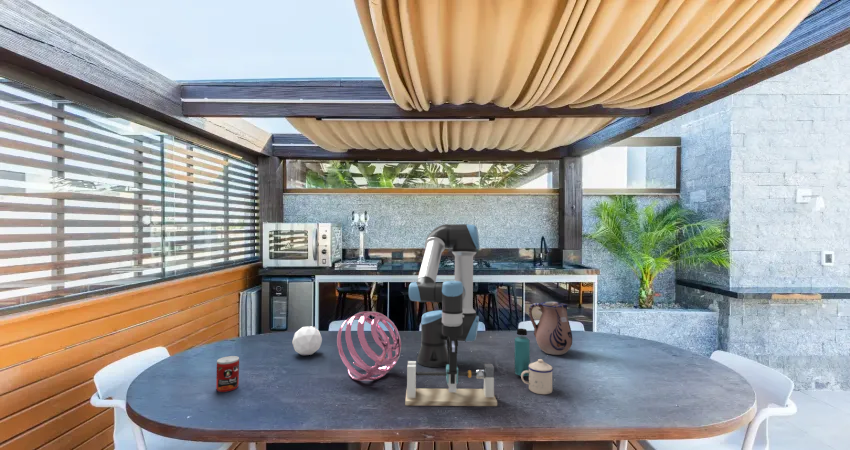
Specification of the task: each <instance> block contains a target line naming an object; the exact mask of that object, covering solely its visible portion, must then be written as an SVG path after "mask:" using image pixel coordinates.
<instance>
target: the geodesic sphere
mask: <svg viewBox="0 0 850 450" xmlns="http://www.w3.org/2000/svg"><path fill="white" fill-rule="evenodd" d="M322 341H323V338H322V334H321V333H320V330H318V328H317V326H311V325H308V326H302V327H301V328H299V329H298V330H297V331H296V332H294V334H293V338H292V342H291V343H292V346H293V349H294V352H296V353H298V354H299V355H301V356H309V355H310V356H311V355H314V353H316V352H317V351H318V350H319V349H320V348H321V345H322Z"/></svg>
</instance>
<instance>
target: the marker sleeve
mask: <svg viewBox="0 0 850 450" xmlns="http://www.w3.org/2000/svg"><path fill="white" fill-rule="evenodd" d="M445 372H449V365H448V364H447V365H445ZM458 372H459V367H458V366H457V374H456V385H457V384H459V376H458ZM445 380H446V384H448V383H449V374H447V376H445Z"/></svg>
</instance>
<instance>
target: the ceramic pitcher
mask: <svg viewBox="0 0 850 450" xmlns="http://www.w3.org/2000/svg"><path fill="white" fill-rule="evenodd" d="M537 307H538V308H539V309H540V311H541V315H540V318H539V321H538V323H536V321H535V320H534V317H533V312H532V311H533V309H534V308H537ZM568 316H569V315H568V304H567V303H565V302H564V303H563V302H562V303H559V302H558V301H542V302H535V303H532V304H530V306H529V308H528V317H529V319H530V321H531V324H532V326H533V334H534V337H535V340H536V343H537V346H538V347H539V349H540V350H541V351H542V352H544V353H546V354H548V355H552V356H561V355H565V354H566V353H568V351H569V350H570V349H571V347H572V345H573V334H572V328H571V324H570V320H569V317H568Z"/></svg>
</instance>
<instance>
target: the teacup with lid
mask: <svg viewBox="0 0 850 450" xmlns="http://www.w3.org/2000/svg"><path fill="white" fill-rule="evenodd" d="M528 368H529V371H523V372H522V373H521V376H520V377H521V380H522V382H523V383H524V384H526V385H528V390H529V391H530V392H532V393H534V394H537V395H549V394H552V392H553V370H554V367H553V366H552V365H550V364H548V363H547V362H545V361H544V360H543V359H542V358H539V359H537V360H536V361H535V362H530V364H529V366H528ZM525 373H529V375H528V381H526V380H525V379H524V376H523V375H524V374H525Z"/></svg>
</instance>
